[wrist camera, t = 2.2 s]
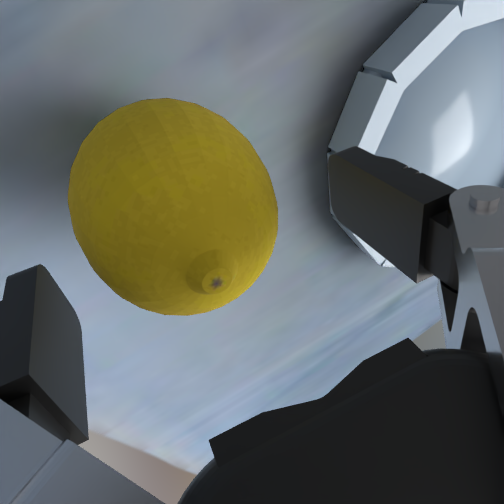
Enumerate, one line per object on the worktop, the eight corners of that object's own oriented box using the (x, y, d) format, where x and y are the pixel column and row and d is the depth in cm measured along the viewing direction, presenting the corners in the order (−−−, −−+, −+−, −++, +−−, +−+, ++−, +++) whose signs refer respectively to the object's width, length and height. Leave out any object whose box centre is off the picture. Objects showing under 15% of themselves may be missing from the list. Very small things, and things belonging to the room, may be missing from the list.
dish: (320, 30, 14) (348, 35, 13) (575, -44, 17) (621, -46, 16) (334, 283, 22) (352, 302, 21) (506, 205, 25) (532, 218, 24)
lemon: (66, 57, 12) (82, 134, 6) (233, 94, 14) (366, 173, 8) (62, 220, 14) (69, 394, 8) (204, 226, 17) (289, 362, 11)
